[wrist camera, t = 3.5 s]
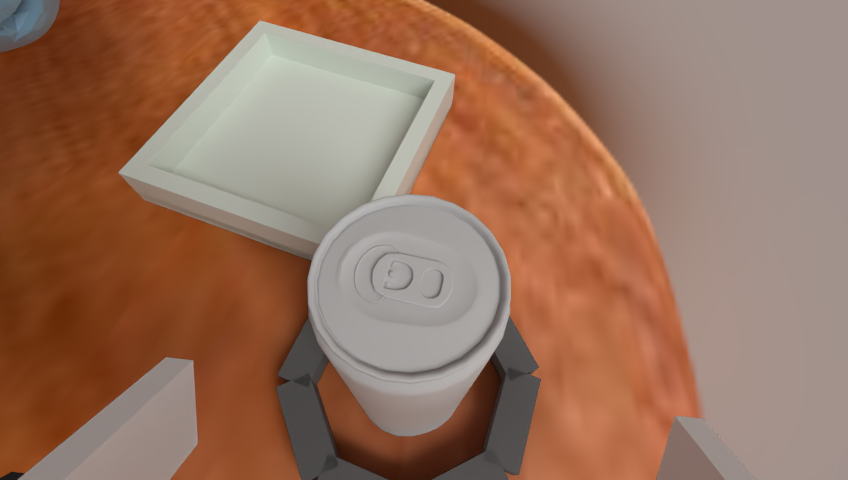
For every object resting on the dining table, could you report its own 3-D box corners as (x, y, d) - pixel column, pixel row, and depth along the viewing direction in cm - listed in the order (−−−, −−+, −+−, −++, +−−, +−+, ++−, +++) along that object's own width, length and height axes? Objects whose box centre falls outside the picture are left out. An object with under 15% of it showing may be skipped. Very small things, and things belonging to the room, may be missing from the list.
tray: (144, 200, 24) (118, 172, 22) (270, 52, 31) (259, 20, 29) (367, 280, 22) (362, 259, 20) (451, 104, 29) (455, 74, 27)
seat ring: (243, 459, 18) (233, 458, 17) (353, 248, 23) (350, 237, 22) (490, 571, 16) (495, 577, 15) (549, 317, 22) (556, 309, 21)
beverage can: (374, 322, 21) (340, 172, 11) (469, 344, 21) (529, 210, 10) (344, 423, 19) (263, 357, 8) (450, 451, 19) (502, 417, 8)
